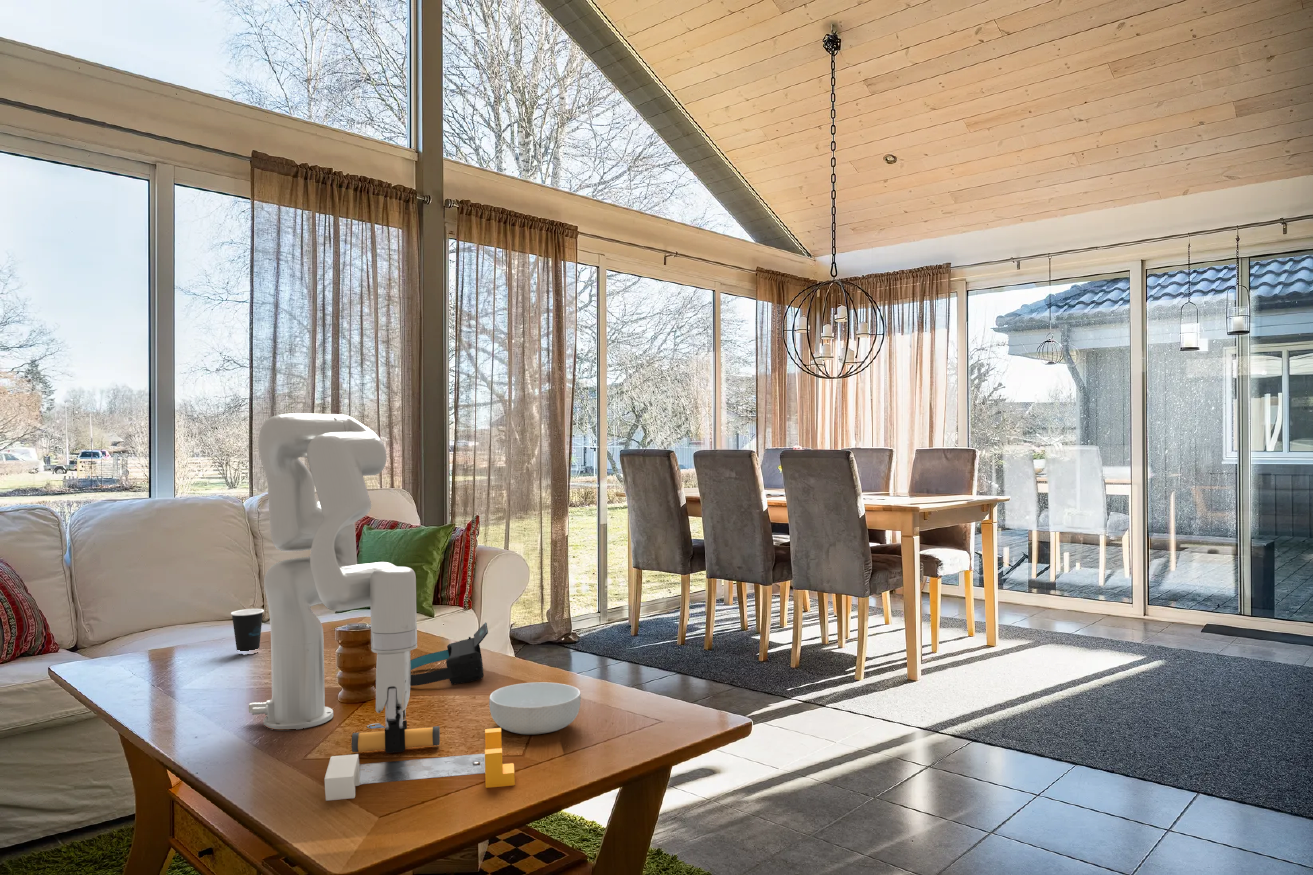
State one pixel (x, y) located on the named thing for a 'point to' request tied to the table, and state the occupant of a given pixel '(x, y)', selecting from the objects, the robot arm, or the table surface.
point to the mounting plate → (422, 768)
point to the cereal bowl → (534, 707)
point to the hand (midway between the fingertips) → (396, 747)
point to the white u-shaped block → (342, 777)
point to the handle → (412, 739)
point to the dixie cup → (247, 628)
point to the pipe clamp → (496, 761)
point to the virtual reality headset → (454, 662)
